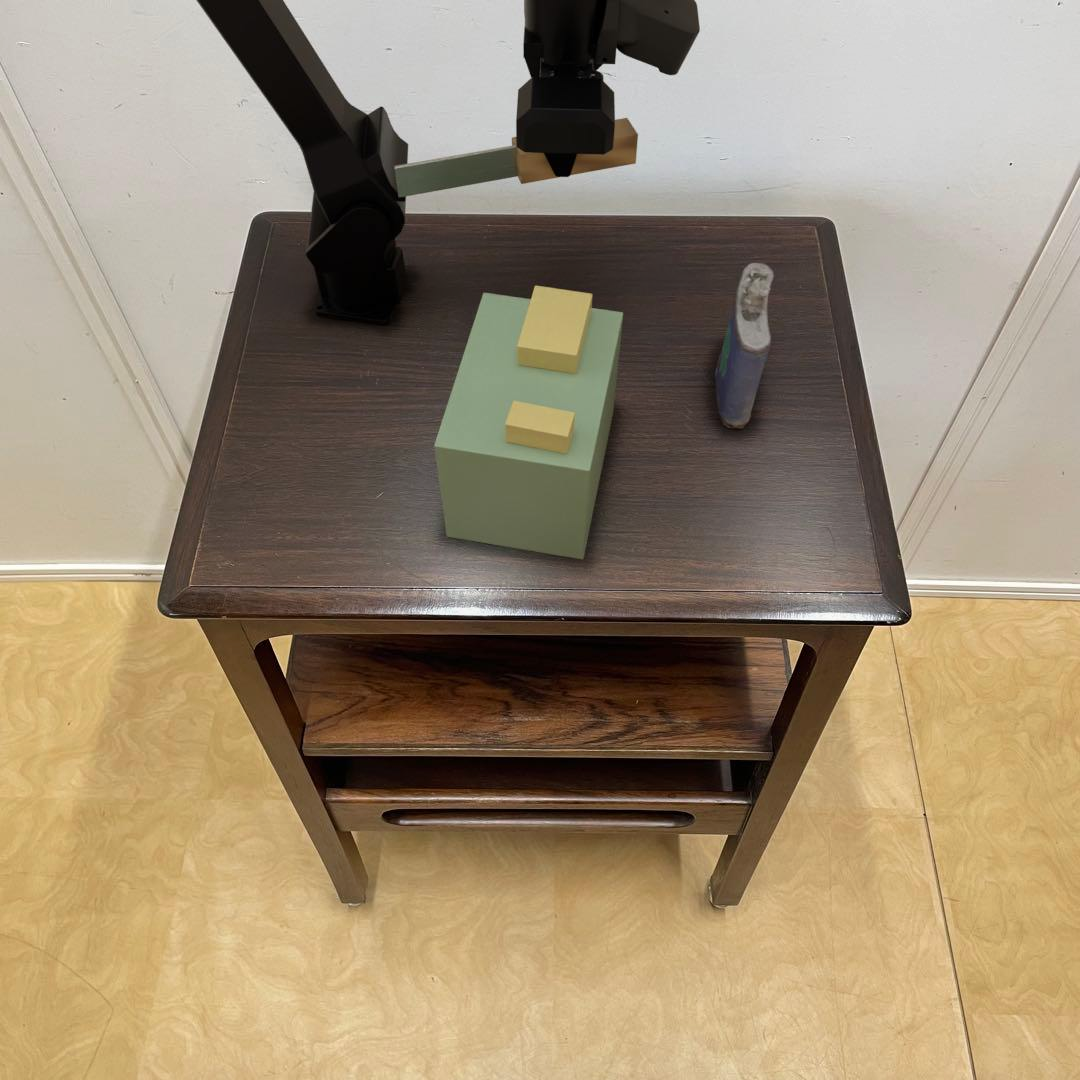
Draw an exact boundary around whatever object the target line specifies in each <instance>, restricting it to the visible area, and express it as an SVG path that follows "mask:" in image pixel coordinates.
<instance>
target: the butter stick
mask: <svg viewBox="0 0 1080 1080" xmlns="http://www.w3.org/2000/svg"><path fill="white" fill-rule="evenodd" d="M530 299H531V301H530V304H529V308H528V311H527V314H526V318H525V321H524V324H523V328H522V331H521V334H520V338H519V341H518V344H517V364H518V365H523V366H529V367H535V368H542V369H548V370H554V371H561V372H567V373H573V374H576V372H577V368H578V364H579V360H580V356H581V352H582V348H583V344H584V340H585V336H586V332H587V328H588V324H589V320H590V316H591V310H592V308H593V293H588V292H582V291H577V290H576V291H575V290H569V289H561V288H556V287H549V286H541V285H534V288H533V291H532V295H531V298H530Z"/></svg>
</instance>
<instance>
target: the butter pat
mask: <svg viewBox="0 0 1080 1080" xmlns="http://www.w3.org/2000/svg"><path fill="white" fill-rule="evenodd" d="M574 425H575V413H574V412H569V411H564V410H559V409H554V408H549V407H544V406H539V405H534V404H529V403H523V402H518V401H513V403H512V406H511V409H510V412H509V414H508V417H507V420H506V423H505V433H506V442H509V443H514V444H519V445H523V446H528V447H533V448H538V449H543V450H548V451H553V452H558V453H563V454H567V453H568V450H569V446H570V443H571V440H572V436H573V433H574Z"/></svg>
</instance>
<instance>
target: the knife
mask: <svg viewBox="0 0 1080 1080" xmlns="http://www.w3.org/2000/svg"><path fill="white" fill-rule="evenodd" d="M638 140H639V133H638V132H637V131H636V129H635V127H634V126H633V124H632V123H631V121H630V119H629V118H628V117H623V118H617V119H615V130H614V142H613V150H611V151H609V152H608V153H606V154H604V155H602V154H577V157H576V160H575V163H574V166H573V169H572V172H571V175H570V176H575V175H580V174H584V173H590V172H597V171H601V170H608V169H614V168H619V167H624V166H630V165H636V163H637V152H638V142H639V141H638ZM394 171H395V179H396V186H397V193H398V197H399V198H400V197H405V196H406V197H411V196H415V195H422V194H426V193H427V194H428V193H433V192H438V191H443V190H450V189H455V188H460V187H466V186H467V187H468V186H472V185H478V184H484V183H489V182H495V181H499V180H505V179H511V178H517V179H518V180H519V183H520V184H521V185H524V184H525V185H526V184H529V183H535V182H541V181H542V182H543V181H547V180H552V179H558V178H559V177H557V176H555V174H554V172H553V171H552V169H551V167H550V165H549V163H548V161H547V159H546V157H545V155H544V153H527V152H523V151H522V150H520V149H519V148H517V147H516V136H513V137H511V145H508V146H501V147H496V148H489V149H485V150H479V151H478V150H477V151H473V152H467V153H462V154H461V153H460V154H456V155H450V156H443V157H440V158H433V159H427V160H421V161H420V160H419V161H416V162H410V163H409V162H408V164H403V165H397V166H394Z"/></svg>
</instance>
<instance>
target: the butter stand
mask: <svg viewBox="0 0 1080 1080" xmlns="http://www.w3.org/2000/svg"><path fill="white" fill-rule="evenodd" d="M530 301H531V298H524V297H517V296H511V295H504V294H498V293H497V294H496V293H489V292H483V293H482V295H481V299H480V302H479V305H478V308H477V311H476V315H475V318H474V321H473V324H472V327H471V330H470V333H469V336H468V340H467V343H466V345H465V349H464V352H463V355H462V358H461V361H460V364H459V367H458V371H457V374H456V377H455V380H454V383H453V385H452V389H451V392H450V395H449V398H448V402H447V404H446V408H445V411H444V414H443V417H442V420H441V423H440V426H439V430H438V432H437V436H436V439H435V442H434V445H433V447H434V448H433V449H434V454H435V455H434V456H435V462H436V469H437V470H436V471H437V477H438V484H439V490H440V491H439V492H440V498H441V505H442V512H443V519H444V527H445V534H446V537H448V538H451V539H459V540H465V541H469V542H476V543H481V544H482V543H483V544H489V545H494V546H500V547H506V548H511V549H518V550H523V551H530V552H535V553H541V554H547V555H554V556H560V557H565V558H571V559H577V560H584V559H585V553H586V548H587V543H588V538H589V535H590V529H591V524H592V518H593V514H594V509H595V504H596V499H597V494H598V490H599V485H600V479H601V476H602V475H601V474H602V470H603V465H604V460H605V455H606V450H607V445H608V441H609V436H610V431H611V426H612V420H613V416H614V409H615V400H616V391H617V381H618V380H617V379H618V371H619V370H618V369H619V362H620V361H619V360H620V353H621V352H620V349H621V342H622V341H621V340H622V331H623V320H624V312H623V311H615V310H609V309H601V308H596V307H595V308H594V307H592V310H591V316H590V320H589V324H588V328H587V332H586V336H585V340H584V344H583V348H582V352H581V356H580V360H579V364H578V368H577V372H576V374H573V373H567V372H561V371H554V370H548V369H542V368H535V367H529V366H523V365H518V364H517V344H518V341H519V338H520V334H521V331H522V328H523V324H524V321H525V318H526V314H527V311H528V308H529V304H530ZM513 401H518V402H523V403H529V404H534V405H539V406H544V407H549V408H554V409H559V410H564V411H569V412H574V413H575V425H574V433H573V436H572V440H571V443H570V446H569V450H568V453H567V454H563V453H558V452H553V451H548V450H543V449H538V448H533V447H528V446H523V445H519V444H514V443H509V442H506V433H505V423H506V420H507V417H508V414H509V412H510V409H511V406H512V403H513Z"/></svg>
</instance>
